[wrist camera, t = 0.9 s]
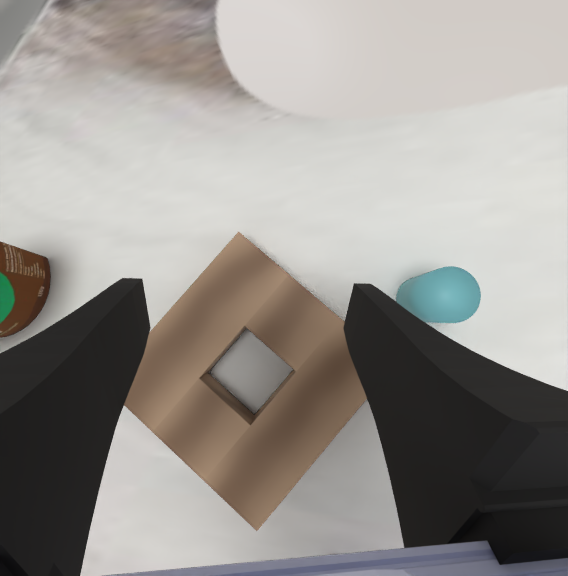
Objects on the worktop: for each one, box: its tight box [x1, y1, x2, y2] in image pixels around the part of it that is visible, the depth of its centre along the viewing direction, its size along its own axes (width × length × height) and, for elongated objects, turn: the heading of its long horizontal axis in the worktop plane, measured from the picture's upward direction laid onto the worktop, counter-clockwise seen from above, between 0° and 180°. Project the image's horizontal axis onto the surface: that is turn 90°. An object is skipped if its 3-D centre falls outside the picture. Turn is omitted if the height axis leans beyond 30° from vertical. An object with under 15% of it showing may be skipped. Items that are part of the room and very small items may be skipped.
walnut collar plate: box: [124, 232, 367, 531], centre depth 25 cm, size 15×15×2 cm
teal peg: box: [396, 267, 481, 323], centre depth 24 cm, size 4×4×6 cm
